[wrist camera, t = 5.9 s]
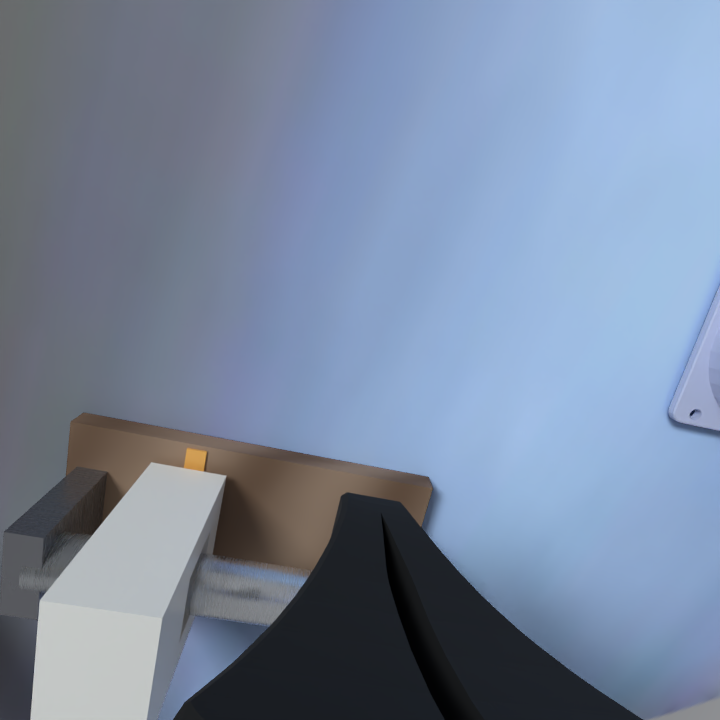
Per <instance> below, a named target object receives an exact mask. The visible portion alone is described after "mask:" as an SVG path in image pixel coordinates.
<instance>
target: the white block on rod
mask: <svg viewBox="0 0 720 720" xmlns="http://www.w3.org/2000/svg"><path fill="white" fill-rule="evenodd" d="M225 482H226V476H225V475H220V474H214V473H208V472H203V471H197V470H192V469H186V468H180V467H175V466H169V465H164V464H158V463H152V462H151V463H150V465H149V466H148V467H147V468H146V470H145V471H144V472H143V473H142V474H141V476H140V477H139V478H138V479H137V481H136V482H135V483H134V484H133V486H132V487H131V488H130V489H129V491H128V492H127V493H126V494H125V495H124V497H123V498H122V499H121V500H120V502H119V503H118V504H117V505H116V507H115V508H114V509H113V510H112V512H111V513H110V514H109V515H108V517H107V518H106V519H105V520H104V521H103V523H102V524H101V525H100V526H99V528H98V529H97V530H96V531H95V533H94V534H93V535H92V536H91V538H90V539H89V540H88V541H87V543H86V544H85V545H84V546H83V547H82V549H81V550H80V551H79V552H78V554H77V555H76V556H75V557H74V559H73V560H72V561H71V562H70V564H69V565H68V566H67V567H66V569H65V570H64V571H63V572H62V573H61V575H60V576H59V577H58V578H57V580H56V581H55V582H54V583H53V585H52V586H51V587H50V588H49V590H48V591H47V592H46V593H45V594H44V596H43V597H42V598H41V599H40V603H39V616H38V629H37V642H36V654H35V667H34V680H33V693H32V706H31V719H30V720H157V719H158V716H159V713H160V711H161V708H162V705H163V702H164V700H165V697H166V694H167V691H168V689H169V686H170V683H171V681H172V678H173V675H174V672H175V670H176V667H177V664H178V661H179V659H180V656H181V653H182V651H183V648H184V645H185V642H186V640H187V637H188V634H189V631H190V629H191V626H192V623H193V621H194V618H195V616H192V615H185V614H184V612H185V606H186V600H187V594H188V588H189V582H190V577H191V575H192V573H193V570H194V568H195V565H196V563H197V561H198V558H199V556H200V554H201V553H206V554H213V549H214V543H215V538H216V532H217V526H218V521H219V515H220V510H221V504H222V498H223V493H224V487H225Z"/></svg>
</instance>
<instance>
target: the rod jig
mask: <svg viewBox="0 0 720 720" xmlns="http://www.w3.org/2000/svg"><path fill="white" fill-rule="evenodd" d="M151 462H152V463H158V464H164V465H169V466H175V467H180V468H186V469H192V470H197V471H203V472H208V473H214V474H220V475H225V476H226V482H225V487H224V493H223V498H222V504H221V510H220V515H219V521H218V526H217V532H216V538H215V543H214V549H213V554H206V553H201V554H200V556H199V558H198V561H197V563H196V565H195V568H194V570H193V573H192V575H191V577H190V582H189V588H188V594H187V600H186V606H185V612H184V614H185V615H192V616H199V617H206V618H213V619H220V620H226V621H233V622H240V623H247V624H254V625H261V626H267V627H269V626H270V625H271V624H272V623H273V622H274V621H275V620H276V619H277V617H278V616H279V615H280V614H281V613H282V611H283V610H284V609H285V608H286V606H287V605H288V604H289V603H290V602H291V600H292V599H293V598H294V597H295V595H296V594H297V593H298V591H299V590H300V588H301V587H302V586H303V584H304V583H305V581H306V580H307V578H308V577H309V575H310V574H311V572H312V571H313V569H314V568H315V566H316V564H317V562H318V561H319V559H320V557H321V555H322V554H323V552H324V550H325V548H326V546H327V545H328V543H329V540H330V538H331V535H332V530H333V526H334V522H335V518H336V514H337V510H338V506H339V502H340V498H341V496H342V495H343V494H345V493H347V492H349V493H354V494H360V495H365V496H371V497H377V498H382V499H388V500H393V501H399V502H401V503H402V504H403V506H404V507H405V508H406V509H407V510H408V512H409V513H410V514H411V515H412V517H413V518H414V519H415V520H416V522H417V523H418V524H419V525H420V527H422V523H423V520H424V517H425V513H426V510H427V506H428V503H429V500H430V496H431V493H432V490H433V488H432V485H431V482H430V480H429V477H426V476H420V475H415V474H410V473H404V472H399V471H394V470H388V469H383V468H378V467H372V466H367V465H362V464H356V463H351V462H345V461H340V460H335V459H329V458H324V457H319V456H313V455H308V454H303V453H297V452H292V451H287V450H281V449H276V448H271V447H265V446H260V445H254V444H249V443H244V442H238V441H233V440H228V439H222V438H217V437H212V436H206V435H201V434H196V433H190V432H185V431H179V430H174V429H169V428H163V427H158V426H153V425H147V424H142V423H137V422H131V421H126V420H121V419H115V418H110V417H105V416H99V415H94V414H88V413H82V414H81V415H80V416H78V417H77V418H75V419H74V420H72V421H71V423H70V435H69V446H68V458H67V469H66V477H65V478H64V479H62V480H61V481H60V482H59V483H58V484H57V485H56V486H55V487H54V488H52V489H51V490H50V491H49V492H48V493H47V494H46V495H45V496H43V497H42V498H41V499H40V500H39V501H38V502H37V503H36V504H35V505H33V506H32V507H31V508H30V509H29V510H28V511H27V512H26V513H25V514H23V515H22V516H21V517H20V518H19V519H18V520H17V521H16V522H14V523H13V524H12V525H11V526H10V527H9V528H8V529H7V530H6V531H4V539H3V558H2V577H1V595H0V615H6V616H13V617H20V618H27V619H35V620H37V619H38V616H39V603H40V599H41V598H42V597H43V596H44V594H45V593H46V592H47V591H48V590H49V588H50V587H51V586H52V585H53V583H54V582H55V581H56V580H57V578H58V577H59V576H60V575H61V573H62V572H63V571H64V570H65V569H66V567H67V566H68V565H69V564H70V562H71V561H72V560H73V559H74V557H75V556H76V555H77V554H78V552H79V551H80V550H81V549H82V547H83V546H84V545H85V544H86V543H87V541H88V540H89V539H90V538H91V536H92V535H93V534H94V533H95V531H96V530H97V529H98V528H99V526H100V525H101V524H102V523H103V521H104V520H105V519H106V518H107V517H108V515H109V514H110V513H111V512H112V510H113V509H114V508H115V507H116V505H117V504H118V503H119V502H120V500H121V499H122V498H123V497H124V495H125V494H126V493H127V492H128V491H129V489H130V488H131V487H132V486H133V484H134V483H135V482H136V481H137V479H138V478H139V477H140V476H141V474H142V473H143V472H144V471H145V470H146V468H147V467H148V466H149V465H150V463H151Z"/></svg>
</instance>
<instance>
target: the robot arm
mask: <svg viewBox="0 0 720 720" xmlns="http://www.w3.org/2000/svg"><path fill="white" fill-rule="evenodd" d="M694 409H695V412H694V414H693V415H692V416H690V413H691V411H693V410H694ZM668 412H669V416H670V417H671V418H672V419H673V420H675V421H677V422H680V423H684V424H689V425H693V426H698V427H703V428H707V429H712V430H717V431H720V286H719V288H718V291H717V293H716V296H715V298H714V300H713V303H712V305H711V308H710V310H709V312H708V315H707V317H706V320H705V322H704V325H703V327H702V329H701V332H700V334H699V337H698V339H697V341H696V344H695V346H694V349H693V351H692V354H691V356H690V358H689V361H688V363H687V366H686V368H685V371H684V373H683V375H682V378H681V380H680V383H679V385H678V387H677V390H676V392H675V395H674V397H673V400H672V402H671V404H670V407H669V411H668ZM173 720H643V719H641V718H640V717H638V716H636V715H635V714H633V713H632V712H630V711H629V710H627V709H626V708H624V707H623V706H621V705H620V704H618V703H617V702H615V701H614V700H612V699H611V698H609V697H608V696H606V695H605V694H603V693H601V692H600V691H598V690H597V689H596V688H594V687H593V686H591V685H590V684H588V683H587V682H586V681H584V680H583V679H581V678H580V677H579V676H577V675H576V674H574V673H573V672H572V671H570V670H569V669H568V668H566V667H565V666H564V665H562V664H561V663H560V662H558V661H557V660H556V659H555V658H553V657H552V656H551V655H549V654H548V653H547V652H545V651H544V650H543V649H542V648H540V647H539V646H538V645H536V644H535V643H534V642H533V641H532V640H530V639H529V638H528V637H527V636H525V635H524V634H523V633H522V632H521V631H520V630H518V629H517V628H516V627H515V626H514V625H513V624H512V623H511V622H509V621H508V620H507V619H506V618H505V617H504V616H503V615H502V614H501V613H499V612H498V611H497V610H496V609H495V608H494V607H493V606H492V605H491V604H490V603H489V602H488V601H487V600H486V599H484V598H483V597H482V596H481V595H480V594H479V593H478V592H477V590H476V589H475V588H474V587H473V586H472V585H471V584H470V583H469V582H468V581H467V580H466V579H465V578H464V577H463V576H462V575H461V574H460V573H459V572H458V570H457V569H456V568H455V567H454V566H453V565H452V564H451V563H450V561H449V560H448V559H447V558H446V557H445V556H444V555H443V553H442V552H441V551H440V550H439V549H438V547H437V546H436V545H435V544H434V543H433V541H432V540H431V539H430V538H429V537H428V535H427V534H426V533H425V532H424V530H423V529H422V528H421V527H420V525H419V524H418V523H417V522H416V520H415V519H414V518H413V517H412V515H411V514H410V513H409V512H408V510H407V509H406V508H405V507H404V506H403V504H402V503H401V502H399V501H393V500H388V499H382V498H377V497H371V496H365V495H360V494H354V493H349V492H347V493H345V494H343V495H342V496H341V498H340V502H339V506H338V510H337V514H336V518H335V522H334V526H333V530H332V535H331V538H330V540H329V543H328V545H327V546H326V548H325V550H324V552H323V554H322V555H321V557H320V559H319V561H318V562H317V564H316V566H315V568H314V569H313V571H312V572H311V574H310V575H309V577H308V578H307V580H306V581H305V583H304V584H303V586H302V587H301V588H300V590H299V591H298V593H297V594H296V595H295V597H294V598H293V599H292V600H291V602H290V603H289V604H288V605H287V606H286V608H285V609H284V610H283V611H282V613H281V614H280V615H279V616H278V617H277V619H276V620H275V621H274V622H273V623H272V624H271V625H270V626H269V627H268V629H267V630H266V631H265V632H264V633H263V634H262V635H261V636H260V637H259V638H258V639H257V640H256V641H255V642H254V643H253V644H252V645H251V646H249V647H248V648H247V649H246V650H245V651H244V652H243V653H242V654H241V655H240V656H239V657H238V658H237V659H236V660H235V661H234V662H233V663H232V664H231V665H230V666H228V667H227V668H226V669H225V670H224V671H222V672H221V673H220V674H219V675H218V676H216V677H215V678H214V679H213V680H211V681H210V682H209V683H208V684H207V685H205V686H204V687H203V688H202V689H200V690H199V691H198V692H197V693H195V694H194V695H193V696H192V697H191V698H189V699H188V700H187V701H186V702H185V703H184V704H183V706H182V707H181V709H180V710H179V712H178V713H177V715H176V716H175V718H174V719H173Z"/></svg>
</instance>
